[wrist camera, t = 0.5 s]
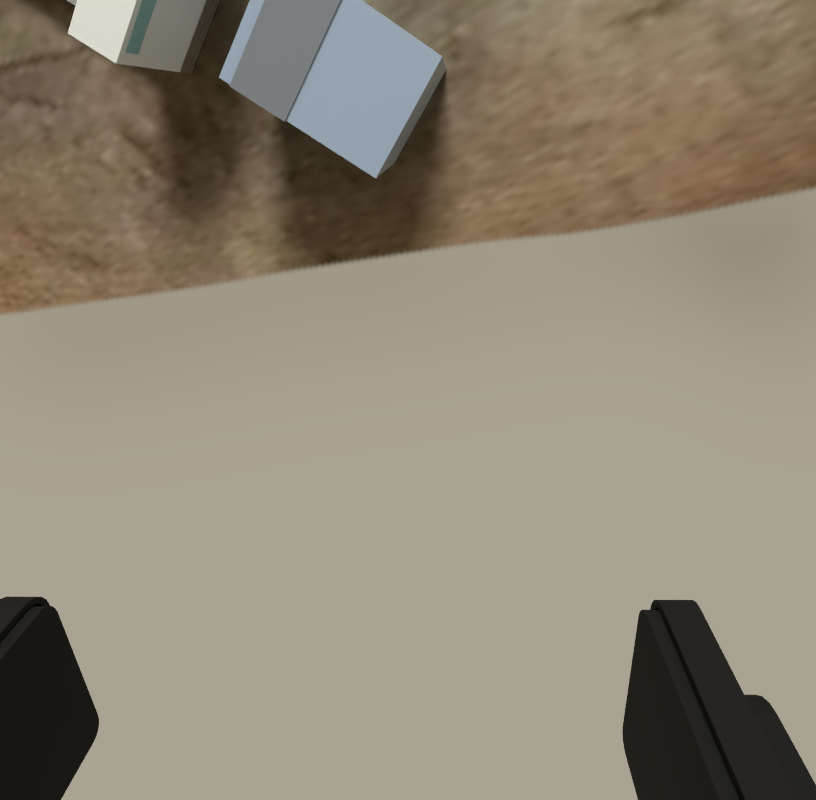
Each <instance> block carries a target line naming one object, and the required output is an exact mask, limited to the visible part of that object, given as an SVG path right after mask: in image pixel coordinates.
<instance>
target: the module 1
mask: <svg viewBox="0 0 816 800" xmlns="http://www.w3.org/2000/svg"><path fill="white" fill-rule="evenodd" d="M205 2H206V0H77V3H76V6H75V10H74V13H73V16H72V20H71V23H70V27H69V30H68V34H70V35H71V36H73V37H75V38H76V39H78V40H79V41H81V42H82V43H84V44H86V45H87V46H89V47H90V48H92V49H94V50H95V51H97V52H98V53H100V54H102V55H103V56H105V57H106V58H108V59H110V60H111V61H113V62H114V63H116V64H123V65H130V66H137V67H145V68H152V69H159V70H167V71H174V72H180V70H181V67H182V64H183V62H184V59H185V56H186V54H187V51H188V48H189V45H190V43H191V40H192V37H193V35H194V32H195V29H196V27H197V24H198V21H199V19H200V16H201V13H202V10H203V8H204V5H205Z"/></svg>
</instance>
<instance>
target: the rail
mask: <svg viewBox="0 0 816 800" xmlns="http://www.w3.org/2000/svg"><path fill="white" fill-rule="evenodd" d="M67 1H68V2H70V3H72V4H73V5H75V6H76V3H77V0H67ZM219 1H220V0H206V2H205V5H204V8H203V10H202V13H201V16H200V19H199V21H198V24H197V27H196V29H195V32H194V35H193V37H192V40H191V43H190V45H189V48H188V51H187V54H186V56H185V59H184V62H183V64H182V67H181V70H180V72H181V73H189V74H192V72H193V69H194V67H195V64H196V61H197V59H198V56H199V54H200V51H201V48H202V46H203V43H204V40H205V38H206V35H207V33H208V30H209V27H210V25H211V22H212V19H213V17H214V14H215V12H216V9H217V6H218V4H219Z"/></svg>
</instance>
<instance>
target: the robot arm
mask: <svg viewBox="0 0 816 800" xmlns="http://www.w3.org/2000/svg"><path fill="white" fill-rule="evenodd" d="M98 726H99V718H98V714H97V712H96V709H95V707H94V704H93V701H92V699H91V696H90V694H89V691H88V689H87V686H86V684H85V681H84V678H83V676H82V673H81V671H80V668H79V666H78V663H77V661H76V658H75V655H74V653H73V650H72V648H71V645H70V643H69V640H68V638H67V635H66V633H65V630H64V628H63V625H62V622H61V620H60V618H59V615H58V612H57V611H56V609H55V608H54V607H52V606H50V605H49V603H48V602H47V600H46V599H44V598H42V597H5V598H2V599H0V800H61V798H62V797H63V795H64V793H65V791H66V789H67V788H68V786H69V784H70V782H71V781H72V779H73V777H74V775H75V774H76V772H77V770H78V768H79V767H80V765H81V763H82V761H83V760H84V758H85V756H86V754H87V753H88V751H89V749H90V747H91V746H92V744H93V742H94V739H95V738H96V735H97V731H98ZM623 743H624V749H625V753H626V757H627V761H628V764H629V768H630V772H631V776H632V779H633V783H634V786H635V790H636V793H637V797H638V800H816V785H815V783H814V781H813V779H812V777H811V776H810V774H809V772H808V770H807V768H806V766H805V765H804V763H803V761H802V759H801V757H800V756H799V754H798V752H797V750H796V748H795V746H794V745H793V743H792V741H791V739H790V737H789V735H788V734H787V732H786V730H785V728H784V727H783V724H782V723H781V721H780V719H779V717H778V716H777V714H776V712H775V711H774V709H773V708H772V706H771V705H770V703H769V702H768V701H767V700H765V699H764V698H763V697H762V696H758V695H744V694H743V692H742V690H741V688H740V686H739V684H738V682H737V680H736V678H735V676H734V674H733V672H732V670H731V668H730V666H729V664H728V662H727V660H726V658H725V656H724V654H723V653H722V650H721V649H720V647H719V645H718V643H717V641H716V639H715V637H714V635H713V633H712V631H711V629H710V627H709V625H708V623H707V621H706V620H705V617H704V615H703V613H702V611H701V610H700V608H699V606H698V605H697V603H696V602H695V601H693V600H654V601H653V602H652V605H651V609H650V610H641V611H640V613H639V618H638V625H637V632H636V639H635V646H634V653H633V660H632V667H631V674H630V681H629V688H628V695H627V702H626V708H625V716H624V722H623Z"/></svg>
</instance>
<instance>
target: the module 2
mask: <svg viewBox="0 0 816 800" xmlns="http://www.w3.org/2000/svg"><path fill="white" fill-rule="evenodd" d="M445 71H446V67H445V64H444V60H443V57H442V56H441V55H439V54H438V53H437V52H435V51H434V50H432V49H431V48H429V47H428V46H427V45H425V44H424V43H422V42H421V41H419V40H418V39H417V38H415V37H414V36H412V35H411V34H409V33H408V32H406V31H405V30H404V29H402V28H401V27H399V26H398V25H396V24H395V23H394V22H392V21H391V20H389V19H388V18H386V17H385V16H384V15H382V14H381V13H379V12H378V11H376V10H375V9H373V8H372V7H371V6H369V5H368V4H366V3H365V2H363V1H362V0H250V1H249V4H248V6H247V9H246V11H245V14H244V16H243V19H242V21H241V24H240V26H239V29H238V31H237V34H236V36H235V39H234V41H233V44H232V46H231V48H230V51H229V53H228V56H227V58H226V61H225V63H224V66H223V68H222V71H221V73H220V76H219V78H220V79H222V80H223V81H225V82H227V83H228V84H230V85H229V86H230V87H231V88H233V89H234V90H236V91H237V92H239V93H240V94H242V95H244V96H245V97H247V98H248V99H250V100H251V101H253V102H254V103H256V104H258V105H259V106H261V107H262V108H264V109H265V110H267V111H268V112H270V113H272V114H273V115H275V116H276V117H278V118H279V119H281V120H282V121H284V122H289V123H290V124H292V125H293V126H295V127H296V128H298V129H300V130H301V131H303V132H304V133H306V134H307V135H309V136H310V137H312V138H314V139H315V140H317V141H318V142H320V143H321V144H323V145H324V146H326V147H328V148H329V149H331V150H332V151H334V152H335V153H337V154H338V155H340V156H342V157H343V158H345V159H346V160H348V161H349V162H351V163H352V164H354V165H356V166H357V167H359V168H360V169H362V170H363V171H365V172H366V173H368V174H369V175H371V176H373V177H374V178H377V177H378V176H379V175H381V174H382V173H383V172H384V171H386V170H387V169H388V168H389V167H390V166H392V165H393V164H394V163H395V161H396V160H397V158H398V156H399V154H400V152H401V151H402V149H403V147H404V145H405V143H406V142H407V140H408V138H409V136H410V134H411V133H412V131H413V129H414V127H415V125H416V124H417V122H418V120H419V118H420V116H421V115H422V113H423V111H424V109H425V107H426V106H427V104H428V102H429V100H430V98H431V97H432V95H433V93H434V91H435V89H436V87H437V86H438V84H439V82H440V80H441V78H442V77H443V75H444V73H445Z"/></svg>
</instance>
